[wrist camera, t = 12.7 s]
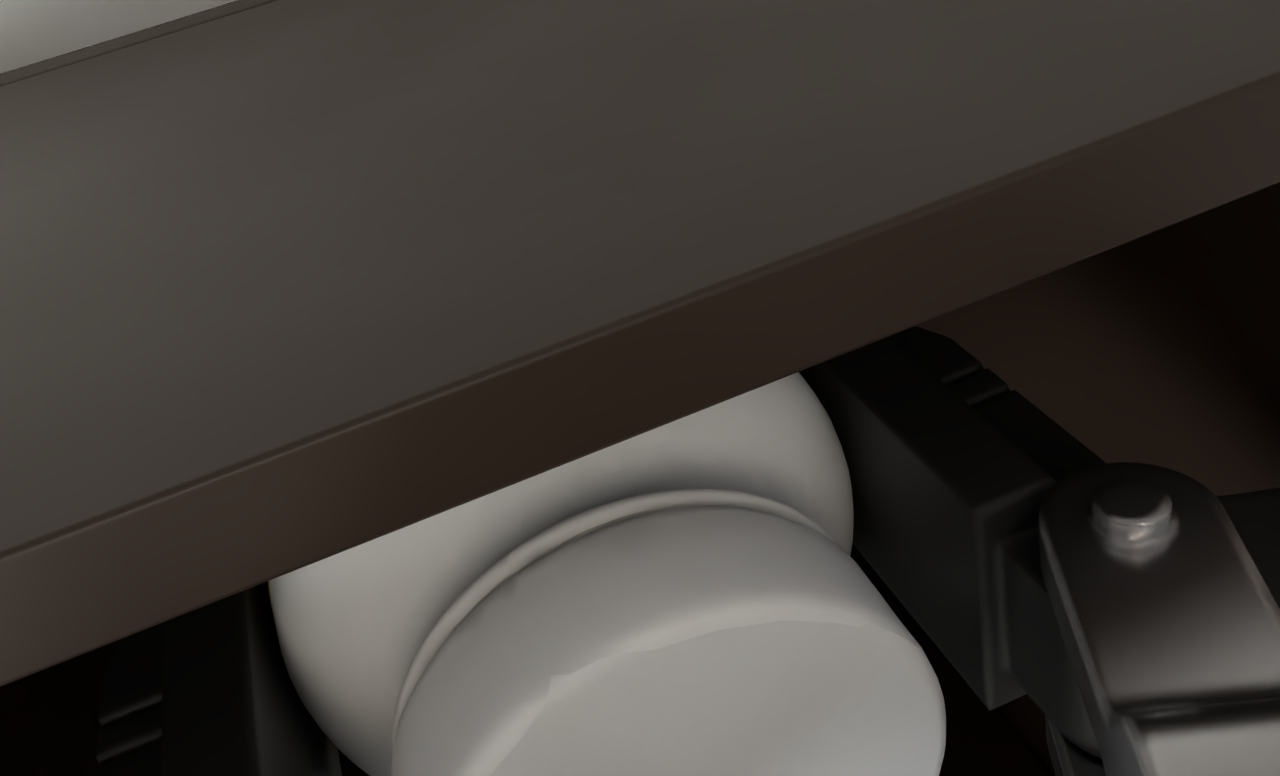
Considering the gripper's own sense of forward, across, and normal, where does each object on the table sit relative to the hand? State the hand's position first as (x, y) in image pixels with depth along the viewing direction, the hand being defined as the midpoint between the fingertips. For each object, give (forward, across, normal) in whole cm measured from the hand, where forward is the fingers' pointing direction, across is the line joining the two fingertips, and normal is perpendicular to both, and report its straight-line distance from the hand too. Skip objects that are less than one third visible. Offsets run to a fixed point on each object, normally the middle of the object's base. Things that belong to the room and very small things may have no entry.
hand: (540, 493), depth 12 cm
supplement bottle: (+6, 0, 0) cm, 6 cm away
